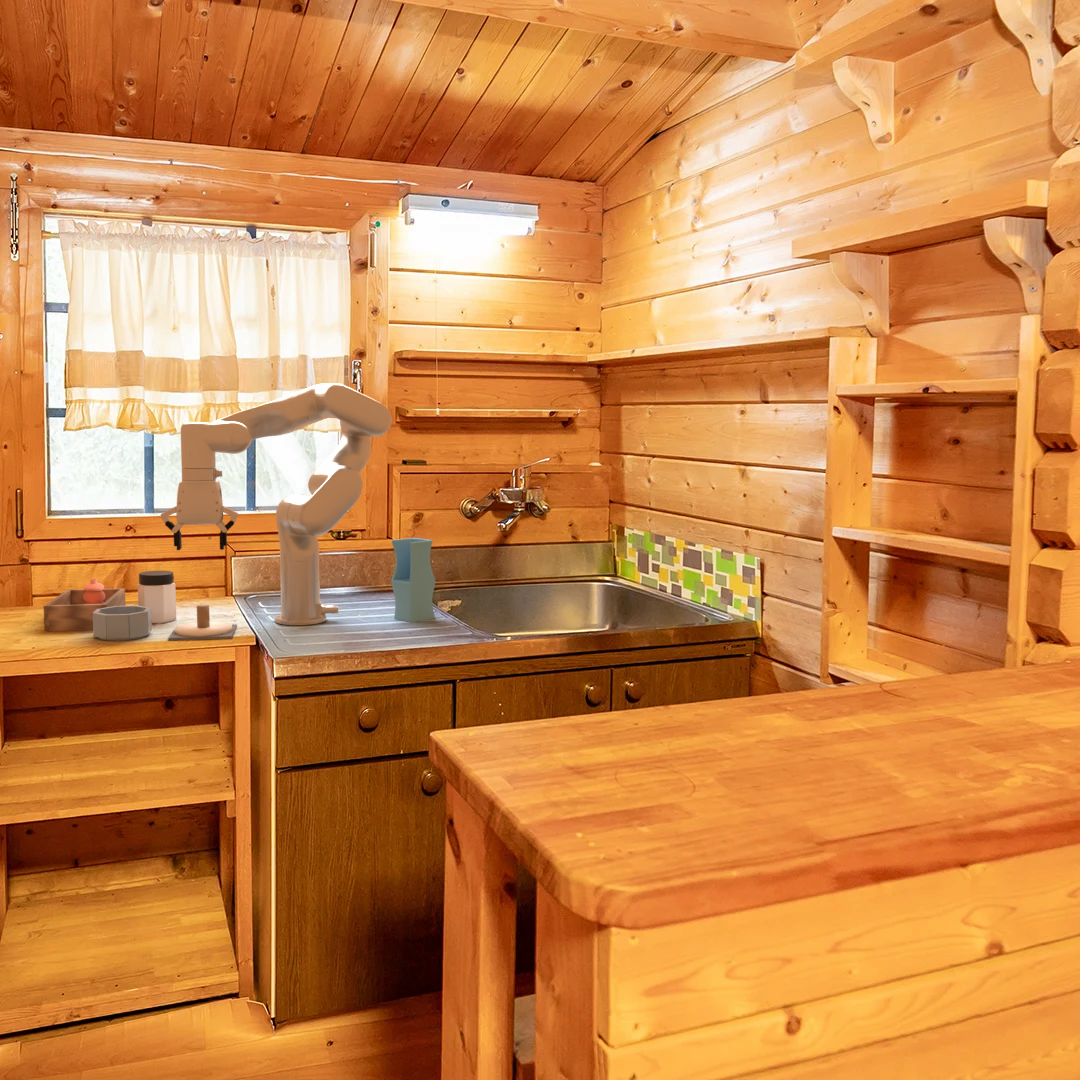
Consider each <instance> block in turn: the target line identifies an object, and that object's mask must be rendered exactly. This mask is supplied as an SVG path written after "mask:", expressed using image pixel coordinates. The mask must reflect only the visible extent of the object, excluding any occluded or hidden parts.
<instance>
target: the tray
mask: <svg viewBox="0 0 1080 1080" xmlns="http://www.w3.org/2000/svg"><path fill="white" fill-rule="evenodd" d="M102 591H103V592H104V593H105V599H104V600H103V601H102V602H104V603H103V604H85V603H86V601H85V600H84V599H83V595H84V593H85V592H87V591H85V590H84V589H83V588H82V589H81V588H80V589H79V588H78V589H77V588H76V589H75V588H74V589H73V588H71V589H66V590H64V591H63V592H62V593H60V594H59V595H57V596H56V597H55V598H53V599H52V600H50V601H49V602H47V603H46V604H44V605H43V625H44V632H64V631H65V632H66V631H93V612H94V611H95V610H96V609H100V608H106V607H112V606H126V588H125V587H121V588H104V589H103V590H102Z"/></svg>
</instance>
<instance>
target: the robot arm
mask: <svg viewBox="0 0 1080 1080" xmlns="http://www.w3.org/2000/svg"><path fill="white" fill-rule="evenodd" d="M325 419H337V420H339V424H340V425H339V426H340V431H341V432H340V441H339V443H338V445H337V446H336V448H335V449H334V450H333V451H332V452H331V454H329V456H328V457H327V458H326V459H325V460H324V461H323V462H322V463H321V464H320V465H319V466H318V467H317V468H316V469H315V470H314V471H313V472H312V474H311V475H310V477H309V479H308V484H307V487H308V491H309V493H310V494H311V495H307V494H297V493H296V494H295V493H294V494H289V495H287V496H285V497H283V499H282V500H280V502H279V503H278V505H277V507H276V509H275V510H276V511H275V523H276V527H277V534H278V539H279V540H278V541H279V542H278V543H279V573H280V575H279V579H280V580H279V582H280V614H278V615H275V617H274V622H275V623H276V624H279V625H286V626H309V625H317V624H320V623H324V622H326V620H327V615H326V614H331V615H332V614H339V605H331V604H329V605H326V604H322V600H321V594H320V593H321V591H320V585H321V583H320V581H321V580H320V579H321V578H320V576H321V575H320V546H319V540H318V537H320V536H323V535H325V534H328V532H330V531H331V530H332V529H333V528H334V527H335V526H336V525H337V524H338V523H339V522H340V521H341V520H342V519H343V517H344V516H346V514H347V513H348V512H349V511H350V510H351V509H352V508H353V506H354V505H356V503H357V501H358V500H359V498H360V497H361V495H362V492H363V488H364V487H363V486H364V483H363V478H362V475H361V474H360V473H361V472H362V471H363V470H364V468H365V467H366V465H367V464H368V462H369V460H370V458H371V452H372V450H371V449H372V439H371V438H374V437H375V438H377V437H380V436H383V435H385V434H386V433H388V431H389V430H390V429H391V427H392V423H393V419H392V414H391V412H390V410H389V408H388V407H387V406H386V405H385V404H383V403H381V402H380V401H378V400H375V399H374V398H372V397H369V396H368V395H365V394H364V393H361V392H359V391H357V390H355V389H354V388H352V387H349V386H347V385H344V384H342V383H338V382H337V383H319V384H315V385H311V386H309V387H307V388H304V389H302V390H298V391H296V392H293V393H291V394H289V395H288V394H287V395H286V396H283V397H280V398H277V399H275V400H272V401H269V402H265V403H263V404H260V405H256V406H254V407H250V408H247V409H244V410H241V411H237V412H235V413H232V414H229V415H227V416H224V417H221V418H219V419H216V420H214V421H212V422H203V421H189V422H188V421H186V422H184V423H182V425H181V426H180V454H181V455H180V456H181V457H180V460H181V481H179V482H178V487H177V494H176V495H177V496H176V506H174V507H172V508H170V509H168V510H166V511H163V512H162V513H160V519H162V521H163V523H164V525H165V527H167V528H168V529H169V530H170V531H171V532H172V533H173V547H176V551H181V549H182V548H183V547H182V543H183V542H182V532H181V528H182V527H183V526H184V525H185V526H206V525H207V526H208V525H209V526H213V525H215V526H216V527H217V528H218V529H219V530H220V532H219V550H221V551H222V550H224V549H225V547H226V546H228V535H227V534H228V533H227V532H228V531H229V530H230V529H232V527H233V526H234V525H235V524H236V521H237V519H238V518H239V513H238V512H237V511H235V510H232V509H231V508H228V507H226V506H224V503H223V494H222V492H223V491H222V488H221V483H220V480H219V481H217V478H220V477H223V470H219V469H217V468H216V466H217V465H216V453H223V454H230V455H236V454H241V453H243V452H245V451H247V449H248V448H250V446H251V444H252V441H254V440H257V439H262V438H266V437H276V436H282V435H287V434H290V433H293V432H295V431H298V430H300V429H302V428H305V427H308V426H310V425H312V424H316V423H317V422H321V421H323V420H325ZM175 513H176V522H177V523H176V524H174V523H173V522H172V521H171V520H170V518H169V517H170V516H171V515H174V514H175ZM224 514H226V515H228V516H230V518H229V521H228V522H227V523H226V524H225V523H224V522H223V520H224Z"/></svg>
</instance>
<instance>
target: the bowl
mask: <svg viewBox="0 0 1080 1080" xmlns="http://www.w3.org/2000/svg"><path fill="white" fill-rule="evenodd" d="M152 624H153V623H152V622H151V608H150V607H144V606H138V604H137V605H136V604H135V605H125V606H112V607H106V608H100V609H96V610H95V611H94V612H93V630H92V632H93V633H92V634H93V637H95V638H98V640H103V641H109V642H110V641H114V642H115V641H116V642H120V641H122V642H123V641H133V640H138V639H143V638H146V637H148V636H149V634H151V632H152V631H153V628H152V627H153V625H152Z"/></svg>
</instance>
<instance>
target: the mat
mask: <svg viewBox="0 0 1080 1080" xmlns="http://www.w3.org/2000/svg"><path fill="white" fill-rule="evenodd" d="M231 624H232V623H231ZM237 628H238V624H237V623H236V624H234V623H233V624H232V631H231V632H229V633H226V634H221V635H215V636H203V637H189V636H181V635H177V634H175V631H174V629H173V630H172V632H171V633H170V634H169V636H168V638H167V639H168V641H198V640H199V641H200V640H201V641H202V640H233V637H234V636H235V635H234V634H235V633H236V630H237Z"/></svg>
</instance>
